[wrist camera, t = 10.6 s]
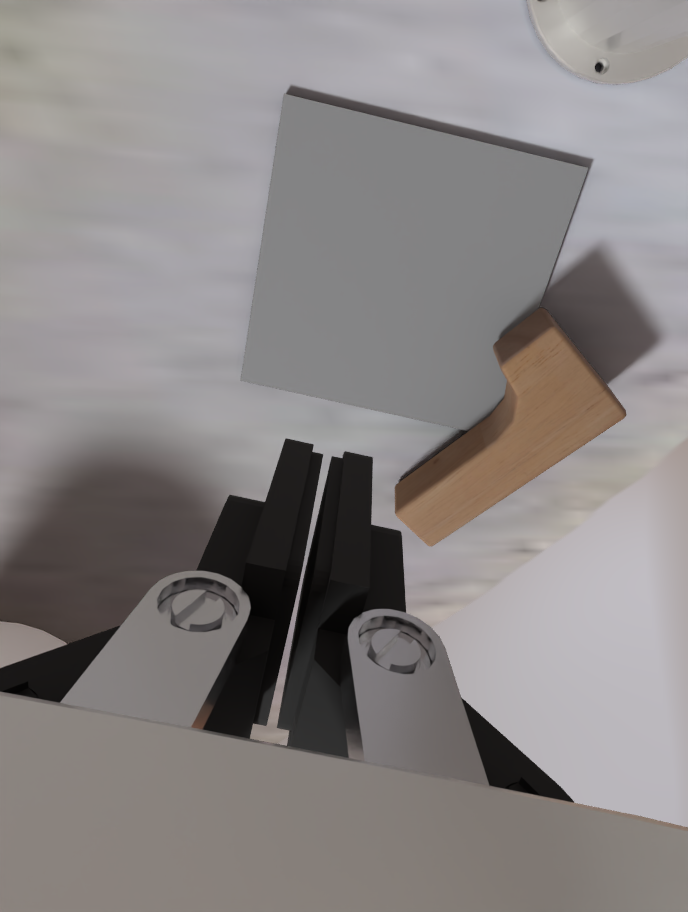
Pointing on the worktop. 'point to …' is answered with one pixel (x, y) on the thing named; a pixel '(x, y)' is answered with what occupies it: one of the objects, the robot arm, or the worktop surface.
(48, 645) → the stepped white pillar
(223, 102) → the worktop surface
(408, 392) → the mat
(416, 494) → the wooden block
